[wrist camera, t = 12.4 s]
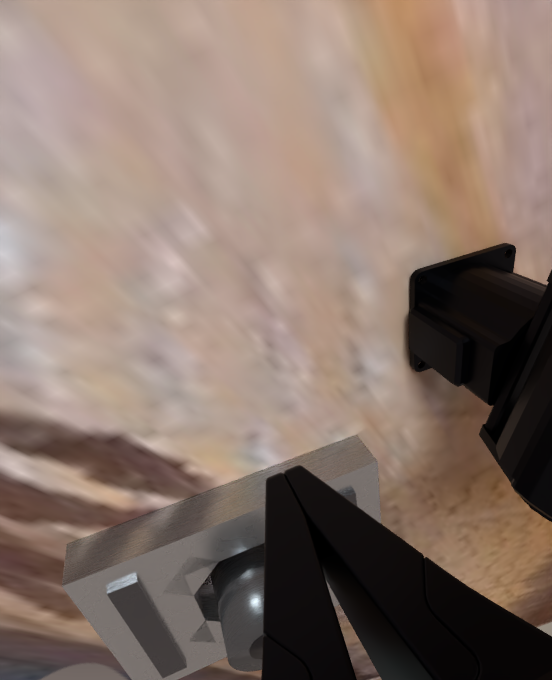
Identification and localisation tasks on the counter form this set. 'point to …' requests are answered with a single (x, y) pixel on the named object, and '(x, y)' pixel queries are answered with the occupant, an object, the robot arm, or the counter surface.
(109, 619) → the jig
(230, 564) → the bushing
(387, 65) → the counter surface
